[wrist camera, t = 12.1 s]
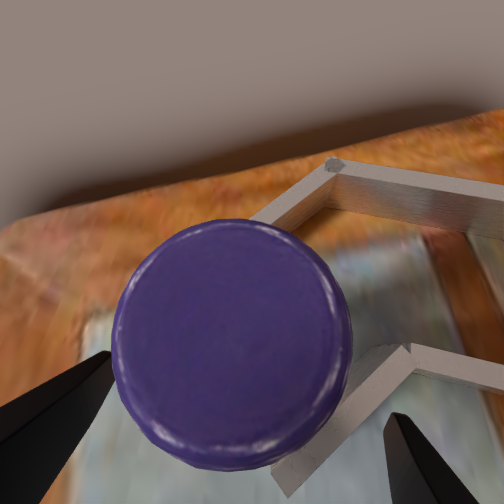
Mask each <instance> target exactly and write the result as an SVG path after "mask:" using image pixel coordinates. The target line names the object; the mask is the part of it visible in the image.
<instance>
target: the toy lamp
mask: <svg viewBox="0 0 504 504" xmlns="http://www.w3.org/2000/svg"><path fill="white" fill-rule="evenodd" d="M352 342H353V333H352V327H351V320H350V314H349V310H348V306H347V303H346V300H345V297H344V294H343V292H342V290H341V288H340V286H339V284H338V282H337V281H336V279H335V278H334V276H333V275H332V272H331V270H330V268H329V266H328V265H327V264H326V263H325V262H324V261H323V260H322V258H321V257H320V256H319V255H318V254H317V253H316V252H315V251H314V250H313V249H312V248H311V247H309V246H308V245H307V244H305V243H304V242H303V241H301V240H300V239H299V238H297V237H296V236H294V235H293V234H291V233H289V232H287V231H285V230H283V229H281V228H279V227H276V226H273V225H270V224H267V223H264V222H260V221H255V220H248V219H216V220H212V221H208V222H204V223H201V224H197V225H194V226H191V227H189V228H187V229H184V230H182V231H180V232H178V233H177V234H175V235H173V236H172V237H170V238H169V239H168V240H166V241H165V242H164V243H162V244H161V245H160V246H159V247H157V248H156V249H155V250H154V251H153V252H151V253H150V254H149V255H148V256H147V257H146V258H145V259H144V260H143V262H142V263H141V264H140V265H139V267H138V268H137V269H136V271H135V272H134V273H133V275H132V276H131V278H130V280H129V282H128V283H127V285H126V287H125V289H124V291H123V293H122V295H121V297H120V300H119V302H118V306H117V309H116V313H115V316H114V322H113V328H112V333H111V355H112V368H113V373H114V377H115V381H116V385H117V389H118V392H119V395H120V398H121V401H122V402H123V404H124V406H125V407H126V409H127V410H128V412H129V414H130V415H131V417H132V419H133V420H134V422H135V424H136V425H137V427H138V428H139V429H140V430H141V431H142V433H143V434H144V435H145V436H146V437H147V438H148V439H149V440H150V441H151V443H153V444H154V445H156V446H157V447H159V448H161V449H162V450H164V451H165V452H167V453H168V454H170V455H172V456H173V457H175V458H176V459H178V460H180V461H183V462H185V463H187V464H189V465H191V466H193V467H195V468H198V469H205V470H213V471H223V472H233V471H243V470H253V469H257V468H260V467H264V466H267V465H270V464H274V463H276V462H278V461H280V460H282V459H284V458H286V457H288V456H289V455H291V454H293V453H295V452H297V451H298V450H299V449H300V448H302V447H303V446H304V445H305V444H307V443H308V442H309V441H310V440H311V439H312V438H313V437H314V436H315V435H316V434H317V433H318V432H319V431H320V430H321V428H322V427H323V426H324V425H325V424H326V423H327V421H328V420H329V419H330V417H331V416H332V415H333V413H334V411H335V409H336V407H337V406H338V404H339V402H340V400H341V398H342V395H343V392H344V390H345V387H346V384H347V381H348V378H349V375H350V368H351V361H352V351H353V350H352Z"/></svg>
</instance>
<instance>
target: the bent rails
mask: <svg viewBox="0 0 504 504" xmlns="http://www.w3.org/2000/svg"><path fill="white" fill-rule="evenodd" d="M323 207H329V208H334V209H340V210H345V211H351V212H356V213H361V214H367V215H372V216H377V217H383V218H388V219H393V220H399V221H404V222H410V223H415V224H420V225H426V226H431V227H436V228H442V229H447V230H452V231H458V232H463V233H469V234H474V235H479V236H485V237H490V238H495V239H501V240H504V186H503V185H497V184H491V183H485V182H479V181H472V180H466V179H460V178H454V177H448V176H442V175H435V174H429V173H423V172H417V171H411V170H404V169H398V168H392V167H386V166H380V165H373V164H367V163H361V162H355V161H349V160H342V159H338V158H337V157H336V156H333V157H331V158H330V157H326V161H325V163H323V164H322V165H321V166H319V167H318V168H317V169H315V170H314V171H312V172H311V173H310V174H308V175H307V176H306V177H304V178H303V179H302V180H300V181H299V182H298V183H296V184H295V185H294V186H292V187H291V188H290V189H288V190H287V191H286V192H284V193H283V194H282V195H280V196H279V197H278V198H276V199H275V200H274V201H272V202H271V203H270V204H268V205H267V206H266V207H264V208H263V209H262V210H260V211H259V212H258V213H256V214H255V215H254V216H252V217H251V218H250V219H248V220H255V221H260V222H264V223H267V224H270V225H273V226H276V227H279V228H281V229H283V230H285V231H287V232H289V233H292V232H293V231H294V230H295V229H297V228H298V227H299V226H300V225H302V224H303V223H304V222H306V221H307V220H308V219H309V218H311V217H312V216H313V215H314V214H316V213H317V212H318V211H320V210H321V209H322V208H323ZM411 372H413V373H416V374H420V375H424V376H428V377H432V378H436V379H440V380H444V381H447V382H451V383H455V384H459V385H463V386H467V387H471V388H475V389H478V390H482V391H486V392H490V393H494V394H498V395H502V396H504V365H501V364H497V363H493V362H489V361H485V360H481V359H477V358H472V357H468V356H464V355H460V354H456V353H452V352H448V351H444V350H440V349H436V348H431V347H427V346H423V345H419V344H415V343H400V344H387V345H379V346H378V347H371V348H370V349H369V350H368V351H367V352H366V353H365V354H364V355H363V356H362V357H360V358H359V359H358V360H357V361H356V362H355V363H354V364H353V365H352V366H351V368H350V375H349V378H348V381H347V384H346V387H345V390H344V392H343V395H342V398H341V400H340V402H339V404H338V406H337V407H336V409H335V411H334V413H333V415H332V416H331V417H330V419H329V420H328V421H327V423H326V424H325V425H324V426H323V427H322V428H321V430H320V431H319V432H318V433H317V434H316V435H315V436H314V437H313V438H312V439H311V440H310V441H309V442H308V443H307V444H305V445H304V446H303V447H302V448H300V449H299V450H298V451H297V452H295V453H293V454H291V455H289V456H288V457H286V458H284V459H282V460H280V461H278V462H276V463H274V464H271V475H272V476H273V478H274V479H275V481H276V482H277V484H278V485H279V487H280V488H281V490H282V491H283V493H284V494H285V495H286V497H287V498H289V497H290V496H291V495H292V494H293V493H294V492H295V491H296V490H297V489H298V488H299V487H300V486H301V485H302V484H303V483H304V482H305V481H306V480H307V479H308V478H309V476H310V475H311V474H312V473H313V472H314V471H315V470H316V469H317V468H318V467H319V466H320V465H321V464H322V463H323V462H324V461H325V460H326V459H327V458H328V457H329V456H330V455H331V454H332V453H333V452H334V451H335V450H336V449H337V448H338V447H339V446H340V445H341V444H342V443H343V442H344V441H345V440H346V439H347V438H348V437H349V436H350V435H351V434H352V433H353V432H354V431H355V429H356V428H357V427H358V426H359V425H360V424H361V423H362V422H363V421H364V420H365V419H366V418H367V417H368V416H369V415H370V414H371V413H372V412H373V411H374V410H375V409H376V408H377V407H378V406H379V405H380V404H381V403H382V402H383V401H384V400H385V399H386V398H387V397H388V396H389V395H390V394H391V393H392V392H393V391H394V390H395V389H396V388H397V387H398V386H399V385H400V383H401V382H402V381H403V380H404V379H405V378H406V377H407V376H408V375H409V374H410V373H411Z"/></svg>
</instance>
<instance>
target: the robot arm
mask: <svg viewBox="0 0 504 504" xmlns="http://www.w3.org/2000/svg"><path fill="white" fill-rule="evenodd" d="M114 381H115V377H114V373H113V368H112V355H111V352H110V351H101V352H99V353H97V354H96V355H94V356H92V357H90V358H88V359H86V360H85V361H83V362H81V363H79V364H77V365H76V366H74V367H72V368H70V369H68V370H67V371H65V372H63V373H61V374H59V375H57V376H56V377H54V378H52V379H50V380H48V381H47V382H45V383H43V384H41V385H39V386H38V387H36V388H34V389H32V390H30V391H28V392H27V393H25V394H23V395H21V396H19V397H18V398H16V399H14V400H12V401H10V402H9V403H7V404H5V405H3V406H1V407H0V504H39V503H40V502H41V500H42V499H43V497H44V496H45V494H46V492H47V491H48V489H49V488H50V486H51V485H52V483H53V482H54V480H55V479H56V477H57V476H58V474H59V473H60V471H61V470H62V468H63V467H64V465H65V464H66V462H67V461H68V459H69V457H70V456H71V454H72V453H73V451H74V450H75V448H76V447H77V445H78V444H79V442H80V441H81V439H82V438H83V436H84V435H85V433H86V432H87V430H88V428H89V427H90V425H91V424H92V422H93V420H94V419H95V417H96V415H97V413H98V411H99V409H100V408H101V406H102V404H103V402H104V400H105V398H106V396H107V395H108V393H109V391H110V389H111V387H112V385H113V383H114ZM383 437H384V445H385V453H386V461H387V469H388V476H389V484H390V491H391V497H392V502H393V504H479V503H478V501H477V500H476V499H475V498H474V497H473V495H472V494H471V493H470V492H469V490H468V489H467V488H466V487H465V485H464V484H463V483H462V482H461V480H460V479H459V478H458V477H457V476H456V474H455V473H454V472H453V471H452V469H451V468H450V467H449V466H448V464H447V463H446V462H445V461H444V459H443V458H442V457H441V456H440V455H439V453H438V452H437V451H436V450H435V448H434V447H433V446H432V445H431V443H430V442H429V441H428V440H427V438H426V437H425V436H424V435H423V433H422V432H421V431H420V430H419V429H418V427H417V426H416V425H415V424H414V422H413V421H412V420H411V419H410V418H409V417H408V416H407V415H405V414H401V413H396V412H393V413H391V415H390V417H389V419H388V421H387V423H386V425H385V427H384V431H383Z"/></svg>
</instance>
